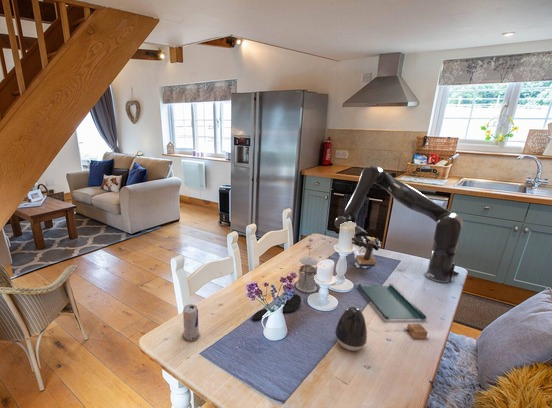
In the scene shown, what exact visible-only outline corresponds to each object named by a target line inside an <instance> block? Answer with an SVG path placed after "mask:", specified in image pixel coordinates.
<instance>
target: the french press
mask: <svg viewBox="0 0 552 408" xmlns="http://www.w3.org/2000/svg"><path fill="white" fill-rule="evenodd" d="M313 241H314V240H313V238H310V237H309V238H308V242H309V246H311V244H312V243H313ZM308 250H309V251H308V252H309V253H308V256H302V257H300V258H299V263H300V264H302V265H300V266H299V269H298V280H297V283H295V287H296V289H297V290H299V291H300V292H303V293H309V294H310V293H314V292H316V291H317V289H318V286H317V285H316V281H315V280H314V278H315V277H316V276H317V269H316V268H315V266H316V265H317V264H318V263H319V261H318V260H317V259H316V258H315V257H312V256H310V255H311V249H308ZM315 275H316V276H315ZM314 276H315V277H314Z"/></svg>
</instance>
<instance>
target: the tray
mask: <svg viewBox="0 0 552 408" xmlns="http://www.w3.org/2000/svg"><path fill="white" fill-rule="evenodd" d="M357 287H358V288H359V290H360V291H361V292H362V293H363V294H364V295H365V296H366V298H367V299H368V300H369V301H370V303H371V304H372V305H373V306H374V308H375V309H376V310H377V311H378V313H380V314H381V316H382V317H383V318H384V320H426V319H427V316H426V315H425V314H424V312H422V310H420V309H419V307H417V306H416V305H415V304H414V303H413V302H412V301H411V300H410V299H409V298H408V297H407V296H405V294H403V292H401V291H400V289H398V288H397V287H396V286H395V285H394V284H393V283H389V285H371V286H370V285H366V286H365V285H362V284H361V283H358V284H357Z"/></svg>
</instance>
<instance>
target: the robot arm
mask: <svg viewBox="0 0 552 408" xmlns="http://www.w3.org/2000/svg"><path fill="white" fill-rule="evenodd" d="M374 184H375V185H377V186H379V187H380V188H382V189H383V190H385V191H386V192H387V193H388V194H389V195H390V196H391V197H393V199H394V200H395V201H397V202H398V203H399V204H401V205H402V206H404V207H406V208H408V209H409V210H412V211H414V212H416V213H419V214H422V215H424V216H426V217H428V218H430V219H431V220H433V221H434V222H436V224H435V230H434V236H433V243H432V248H431V253H430V256H429V261H428V265H427V271H426V274H425V276H426V277H427V278H428V279H429V280H432V281H434V282H436V283H442V284H443V283H449V282H452V279H453V276H457V275H459V272H458V271H457V272H456V271H455V267H456V263H455V259H456V258H455V257H456V254H457V250H458V245H459V240H460V235H461V230H462V228H463V226H464V220H463V218H462V216H460V215H458V214H457V213H456V212H453V211H452V210H449V209H447V208H445V207H443V206H441V205H439V204H438V203H436V202H434V201H433V200H432V199H430V198H428V197H427V196H426V195H424V194H422V193H421V192H420V191H418V190H417V189H415V188H413V187H411V186H410V185H408V184H406V183H404V182H402V181H401V180H399V179H397V178H395V177H393V176H392V175H390V174H389V173H388V172H386V171H385V170H384V169H382V168H381V167H380V166H378V165H373V164H372V165H366V167H364V168H363V169H362V171H361V174H360V177H359V179H358V183H357V185H356V188H355V189H354V192H353V193H352V196H351V197H350V199H349V201H348V202H347V205H346V206H345V208H344V213H345V215H348V217H345V216H342V215H340V216H337V217H336V218H335V220H334V225H335V227H336V229H338V230H340V229H339V227H340V224H342V223H344V222H348V221H352V222H354V223H355V224H356V221H357V216H358V214H359V213H360V210H361V208H362V207H363V205H364V202H365V199H366V198H367V195H368V193H369V190H370V189H371V188H372V186H373V185H374ZM351 241H352V243H351V244H352V245H355V246H357V247H359V248H362V247H363V248H365V250H366V249H368V250H369V251H371V246H370V245H369V244H368V242H369V241H374V242H375V245H374V248H373V250H375V251H379V249H380V246H379V244H380V243H379V238H377V237H375V238H372V237H371V236H369V233H368V232H367V231H366V230H364V228H362V227H360V226H359V225H357V224H356V227H355V234H354V238H352V239H351Z"/></svg>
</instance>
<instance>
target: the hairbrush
mask: <svg viewBox="0 0 552 408" xmlns="http://www.w3.org/2000/svg"><path fill="white" fill-rule="evenodd" d="M293 294H294V295H293V297H292V298H291V299H290V300H287V301H286V304H285V306H284V307H283V312H282V313H283V314H286V313H287V314H288V313H289V314H290V313H293V312H295V311H296V310H297V309H299V307H300V306H301V304H302V298H301V295H300V294H298V293H296V292H293ZM266 312H267V310H266V309H265V308H263V309H260V310H257V312H255V313H254V314H253V316H252V321H253V322H256V321H260V320H262V319H263V318H262V316H263V315H264V314H265V313H266Z"/></svg>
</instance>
